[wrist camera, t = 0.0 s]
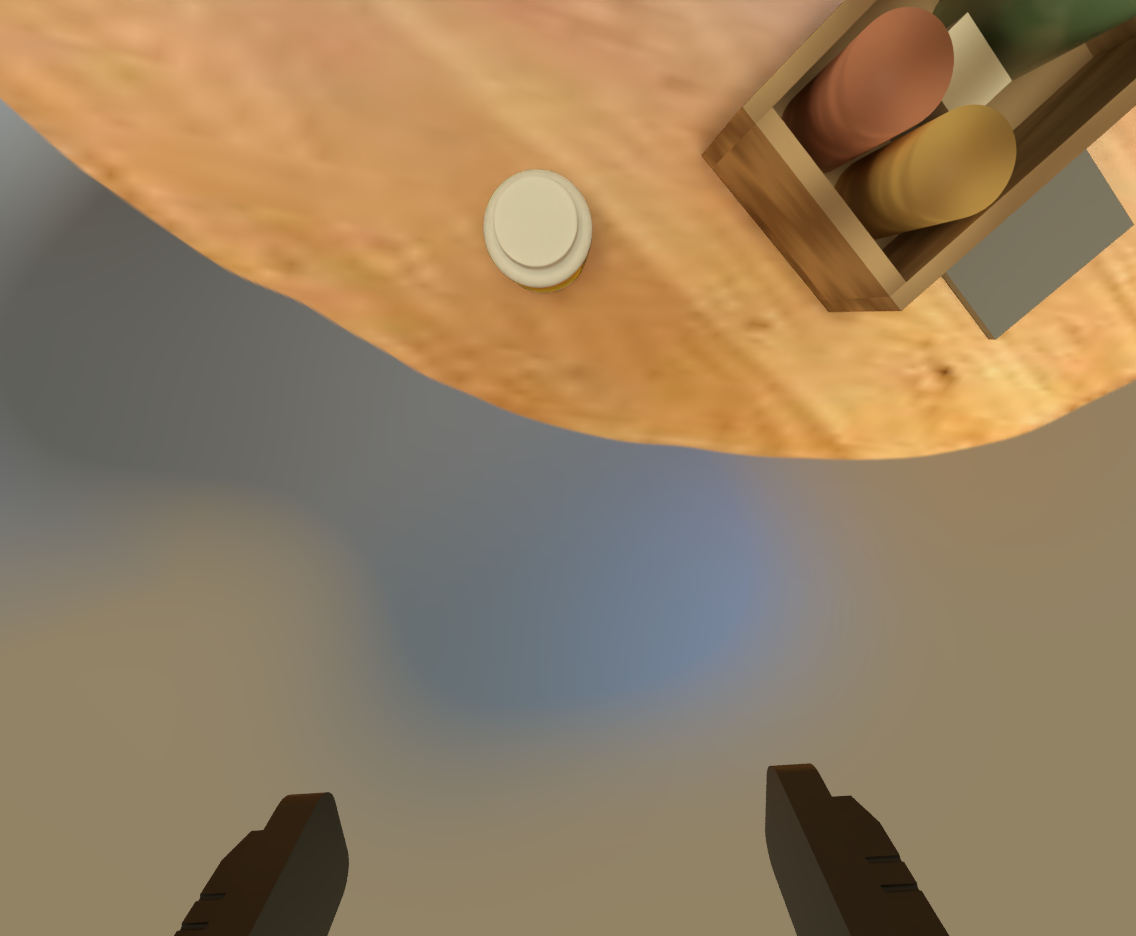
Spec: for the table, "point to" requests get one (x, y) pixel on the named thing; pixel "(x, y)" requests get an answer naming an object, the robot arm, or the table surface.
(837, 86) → the crate
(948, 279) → the coaster
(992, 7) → the green bottle
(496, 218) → the supplement bottle
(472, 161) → the table surface
